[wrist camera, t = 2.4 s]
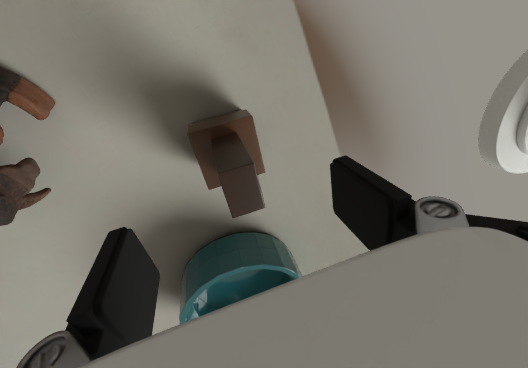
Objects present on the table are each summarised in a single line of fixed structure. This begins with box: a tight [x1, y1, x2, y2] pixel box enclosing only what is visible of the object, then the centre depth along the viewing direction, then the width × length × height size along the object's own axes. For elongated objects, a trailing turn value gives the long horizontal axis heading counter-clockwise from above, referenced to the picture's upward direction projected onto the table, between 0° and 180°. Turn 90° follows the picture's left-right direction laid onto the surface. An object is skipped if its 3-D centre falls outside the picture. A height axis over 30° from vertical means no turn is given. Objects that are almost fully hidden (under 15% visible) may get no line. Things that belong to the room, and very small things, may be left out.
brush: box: [187, 109, 265, 218], centre depth 17 cm, size 5×5×10 cm
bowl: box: [179, 232, 303, 324], centre depth 27 cm, size 14×14×6 cm
